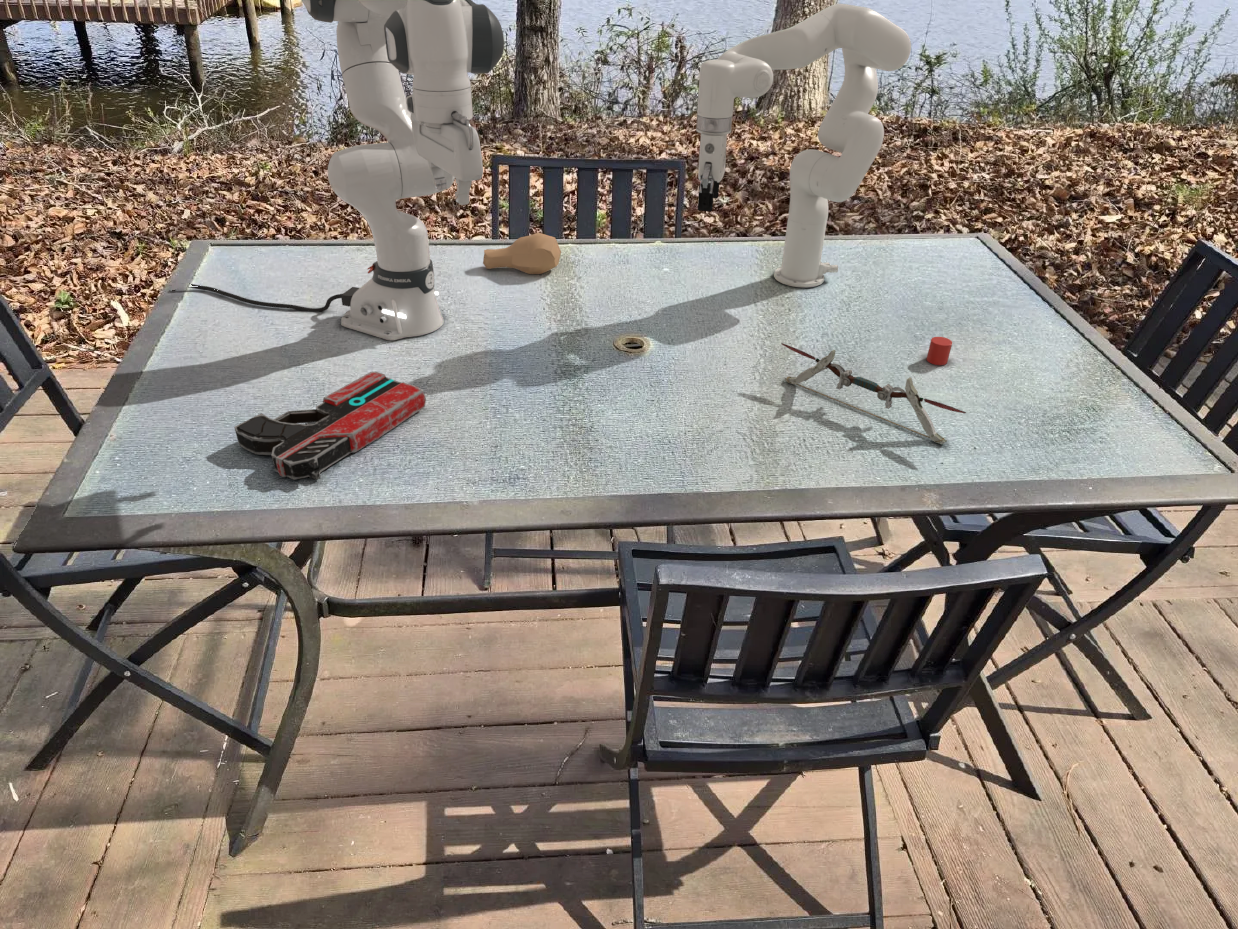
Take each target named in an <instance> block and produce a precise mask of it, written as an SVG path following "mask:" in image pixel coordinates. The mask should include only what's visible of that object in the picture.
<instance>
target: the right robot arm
mask: <svg viewBox="0 0 1238 929" xmlns="http://www.w3.org/2000/svg"><path fill="white" fill-rule="evenodd" d="M837 49H841V52H842V58H843V65H844V76H843V81H842V84H841V86H840V88H839V90H838V92H837V94H836V96H835V98H834V100H833V101H832V103H831V104H830V107H829V108H828V110H827V112H826V114H825V116H824V117H823V119H822V121H821V123H820V125H819V128H818V131H817V139H818V141H819V143H820V144H821V145H822V146H823V147H826V148H827V149H829V150H832V151H834V152H839V153H840V156H836V155H834V154H832V153H829V152H825V151H822V150H819V149H812V148H811V149H810V148H809V149H804V150H802V151H800V152H799V153H797V154H796V156H794V158H793V160H792V161H791V164H790V168H789V192H790V194H789V195H790V196H789V205H788V214H787V222H786V230H785V236H784V245H783V253H782V260H781V266H780V267H778V268H776V269H775V270H774V273H773V278H774V279H775V280H776V281H777V282H779V283H780V284H783V285H785V286H789V287H793V288H813V287H817V286H820V285H822V284H823V283H824V281H825V275H826V273H831V274H834V273H835V274H836V273H838V272H839V265H838V264H831V263H830V262H822V257H823V256H822V255H823V250H824V244H825V236H826V230H827V224H828V219H829V201H830V202H833V203H843V202H845V201H847V200H849V199H850V198H851V197H852V196H853V195H854V194H855V193H856V192H857V190H858V188H859V186H860V185H861V183H862V181H863V180H864V178H865V176H866V175H867V172H868V171H869V170H870V168H871V166H872V164H874V161H875V160H876V158H877V157H878V154H879V152H880V151H881V148H882V146H883V142H884V138H885V128H884V125H883V123H882V121H881V120H880V119H879V118H878V117H877V116H875V115H872V114H869V113H870V111H871V109H872V108H873V106H874V104H875V101H876V99H877V96H878V92H879V81H878V80H879V79H878V74H877V70H881V71H885V72H894V71H897V70H899V69H901V68H902V67H903V66H904V65H905V64H906V63H907V62H908V60H909V58H910V55H911V51H912V42H911V39H910V36H909V34H908V33H907V32H906V30H905V29H903V28H902V27H900V26H898V25H897V24H895V23H894V22H892V21H891V20H889V19H888V18H886V17H885V16H883V15H882V14H880V13H879V12H877V11H875V9H871V8H869V7H867V6H860V5H852V4H847V3H834V4H832V5H829V6H827V7H825V8H823V9H822V10H820V11H818V12H816V13H814V14H813V15H810V16H809V17H808V18H805V19H804V20H802V21H800V22H798V23H796V24H795V25H793V26H791V27H788V28H785V29H781V30H777V31H773V32H770V33H767V34H763V35H758V36H756V37H751V38H749V39H747V40H745V41H742V42H740V43H738V44H736V45H734V46H733V47H731V48H729V49H727V50H726V51H724V52H723V53H722V54H721V55H719V57H718V58H717V59H708V60H707V59H706V60H704V61H703V62H702V63H701V65H700V67H699V78H698V92H697V93H698V96H697V109H696V110H697V112H696V124H695V125H696V126H695V127H696V128H695V132H696V133H699V134H700V141H699V154H698V173H697V175H698V177H697V178H698V181H700V185H699V191H698V196H697V210H698V211H699V212H712V211H713V206H714V199H718V198H719V192H720V182H722V180H723V177H724V176H725V173H726V161H727V146H728V145H727V144H728V135H729V134H731V133H732V128H733V127H732V126H733V116H734V115H733V114H734V104H735V99H736V98H746V99H756V98H760V97H762V96H764V95H766V93H768V92H769V90H770V89H771V88H772V85H773V82H774V72H773V71H775V70H776V71H777V70H781V71H782V70H783V71H785V70H787V71H788V70H797V69H803V68H805V67H807V66H809V65H811V64H813V63H814V62H816V61H817V60H820V59H822V58H823V57H825V56H826V55H828V54H830V53H832V52H834V51H836V50H837Z"/></svg>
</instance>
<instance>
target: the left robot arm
mask: <svg viewBox="0 0 1238 929" xmlns="http://www.w3.org/2000/svg"><path fill="white" fill-rule="evenodd" d="M301 1H302V3H303V5H304V8H305V9H306V12H307V13H308V15H309V16H310V17H311V18H312V19H313V20H315V21H318V22H323V23H328V24H332V23H334V22H338V23H337V25H336V48H337V56H338V61H339V62H338V63H339V67H340V72H341V77H342V80H343V86H344V88H345V93H346V97H347V102H348V106H349V110H350V113H351V114H352V116H353V117H354V118H355V120H357V122H359V123H360V124H362V125H364V126H366V127H369V128H370V129H373V130H375V131H377V132H379V133H380V134H381V135H382V136H383V137H385V139H386V142H378V143H368V144H359V145H353V146H351V147H347V148H343V149H341V150H338V151H334V153H333V154H332V156H331V157H330V159H329V161H328V164H327V179H328V180H327V181H328V183H329V186H330V188H331V189H332V192H334V194H335V195H336V196H337V197H338V198H339V199H340V200H342V201H343V202H345V203H347V204H348V205H350V206H351V207H353V208H354V209H355V210H357V211H358V212H359V213H360V214H361V216H362V217H363V218H364V220H365V221H366V222H367V224H368V226H369V228H370V231H371V235H372V240H373V243H374V248H375V253H376V254H375V255H376V261H374V262H373V263H372V265H371V266H369V267H368V268H367V274H370V273H372V277H371V278H370V279H369V280H367V282H365V283H364V284H363V285H362V286H360V287H357V286H352V287H350V288H348V290H345V291H344V292H343V293H338V294H334V295H332V296H329V298H327V300H326V302H325V304H324V305H323V306H322V307H317V308H312V307H305V306H301V305H297V304H289V303H288V304H287V303H279V302H277V303H276V302H267V301H260V300H254V299H250V298H246V297H243V296H240V295H237V294H234V293H231V292H228V291H224V290H221V289H219V288H215V287H212V286H207V285H201V286H200V284H195V283H190V284H191V285H192V286H198V287H189V289H196V290H201V291H208V292H212V293H215V294H218V295H220V296H221V295H222V296H225V297H226V298H227V297H228V298H231V299H233V300H237V301H239V302H243V303H247V304H250V305H254V306H255V305H256V306H261V307H269V308H280V309H290V310H297V311H301V312H310V313H311V312H313V313H323V312H325V311H328V310H329V308H330V306H331V304H332V302H334V301H335V300H339V299H341V305H342V306H343V307H349V310H347V311H346V313H344V314H343V316H342V317H341V320H340V324H341V326H342V327H344V328H347V329H350V330H354V331H357V332H360V333H364V334H367V335H370V336H373V337H377V338H380V339H383V340H387V341H396V340H397V341H398V340H401V339H404V338H412V337H420V336H423V335H427V334H430V333H431V334H432V333H434V332H436V331H437V330H439V329H441V327H442V326H443V325H444V323H445V320H444V317H443V314H442V312H441V310H440V307H439V303H438V300H437V296H439V291H435V271H434V264H433V260H432V259H431V253H430V243H429V232H428V229H427V226H426V225H425V223H424V222H423V221H422V220H421V219H420V218H419V217H417V216H415V215H412V214H410V213H408V212H404V211H402V210H399V209H398V208H397V201H399V200H400V199H401V200H402V199H411V198H419V197H426V196H432V195H434V194H438V193H440V192H441V193H442V192H443V191H446V190H448V189H451V187H452V186H453V184H454V182H455V183H456V191H454V197H455V202H456V203H457V204H458V205H460V206H464V205H466V206H467V205H469V204H470V203H471V202H470V192H471V188H472V184H473V183H472V182H474V181H480V180H482V178H483V175H484V164H483V155H482V148H481V142H480V137H479V134H478V131H477V130H476V128H475V127H474V126H472V125H471V122H470V120H472V119H474V118H473V117H474V113H473V112H474V111H473V97H472V84H471V79H470V77H469V74H468V73H470V74H483V75H484V74H489V73H491V71H492V70H493V69H494V68H495V67H496V65H498V63H499V62H500V60H501V59H502V57H503V55H504V51H505V50H504V49H505V39H504V38H505V37H504V36H505V35H504V31H503V28H502V24H501V22H500V20H499V19H498V17H497V16H496V15H495V13H494V12H493V10H491V9H490V8H489V7H487V6H486V5H485V4H484V3H475V2H474V1H473V0H301ZM400 73H402V74H403V75H404V74H406V75H409V76H413V78H412V94H410V95H407V96H406V93H405V90H404V87H403V83H402V78H401V74H400ZM214 289H215V290H214ZM218 289H219V290H218ZM217 290H218V291H217Z"/></svg>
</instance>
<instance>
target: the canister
mask: <svg viewBox="0 0 1238 929" xmlns="http://www.w3.org/2000/svg"><path fill="white" fill-rule="evenodd" d="M952 346H953V341H952V340H951V339H950V338H948V337H944V336H933V337H932V338H930V343H929V347H928V351H927V355H926V362H928V363H929V364H932V365H935V366H945V365H947V364H948V361H949V358H950V354H951V350H952Z"/></svg>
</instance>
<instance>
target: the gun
mask: <svg viewBox="0 0 1238 929" xmlns="http://www.w3.org/2000/svg"><path fill="white" fill-rule="evenodd" d="M426 400H427V397H426V395H425V392H424V390H423V389H422V388H420V387H419V386H418V385H413V384H411V383H410V384H409V383H407V382H404V381H403V382H401V381H398V380H395V379H393V378H390V377H387V376H386V374H385V373H382V372H379V371H370V372H367V373H366V374H364V375H363V376H360V377H358V378H357V379H355V380H353V381H352V382H349V383H348V384H345V385H344V386H342V387H340V388H339V389H336V390H335V391H333V392H332V393H329V394H328V395H326V396H324V397H323V399H322V402H321V403H320V404H318V405H316V406H315V409H299V410H298V409H297V410H288V411H286V412H284V413H283V414H280V415H278V416H277V417H275V418H271V417H268V416H267V415H265V414H264V413H258V414H256V415H255V416H253V417H250V418H249V419H247V420H245V421H243V422H241V423H240V424H237V425H234V432H235V435H236V439H237V443H238V444H239V446H240V447H241V448H243V449H244V450H246V451H247V452H250V453H252V454H254V455H262V456H263V455H264V456H271V459H272V463H273V467H274V472H276V473H278V474H279V476H280V477H282V478H286V477H287V478H289V479H291V480H293V481H295V480H299V479H305V478H308V477H309V478H311V479H313V480H315V481H319V479H321V473H322V472H323V471H325V470H326V469H328V468H329V467H332V466H333V465H334V464H336V463H337V462H339V461H340V460H342V459H343V458H346V456H348V455H350V454H351V453H353V454H354V453H357V452H359V451H360V450H361V449H363V448H365V447H366V446H368V445H370V444H371V443H373V442H375V441H376V440H378V439H380V438H381V437H383V436H384V435H386V434H387V433H388V432H390V431H391V430H393V429H394V428H396V427H398V426H399V425H401V424H402V423H403V422H404V421H406V420H408V419H409V418H411V417H412V416H414V415H415V414H416V413H418V412H419V411H421V410H423V409H424V408H425V407H426Z"/></svg>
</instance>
